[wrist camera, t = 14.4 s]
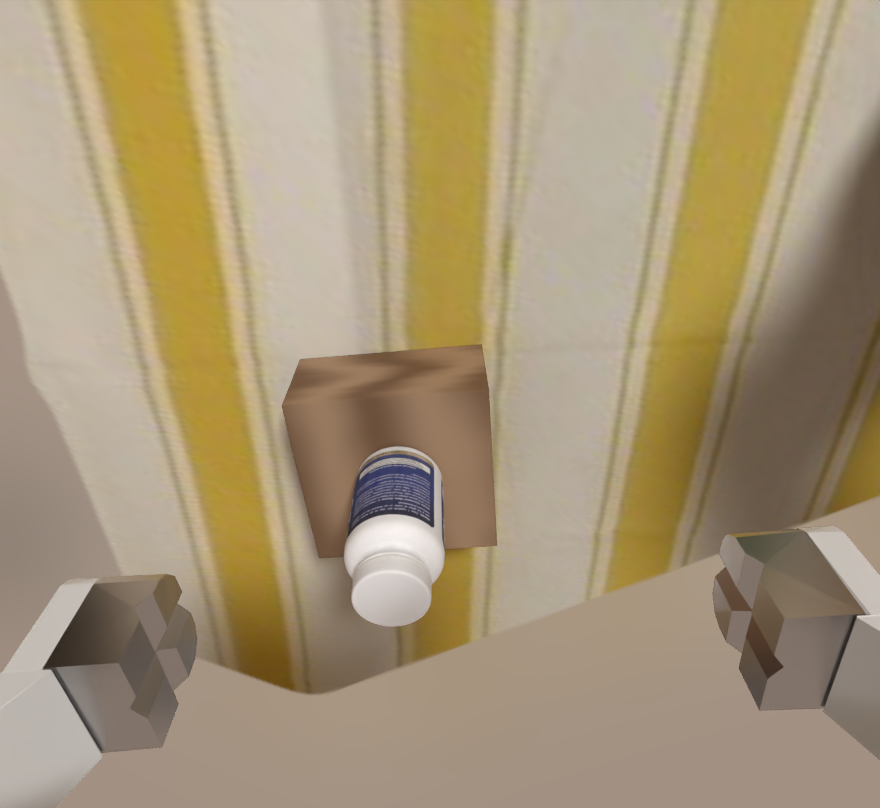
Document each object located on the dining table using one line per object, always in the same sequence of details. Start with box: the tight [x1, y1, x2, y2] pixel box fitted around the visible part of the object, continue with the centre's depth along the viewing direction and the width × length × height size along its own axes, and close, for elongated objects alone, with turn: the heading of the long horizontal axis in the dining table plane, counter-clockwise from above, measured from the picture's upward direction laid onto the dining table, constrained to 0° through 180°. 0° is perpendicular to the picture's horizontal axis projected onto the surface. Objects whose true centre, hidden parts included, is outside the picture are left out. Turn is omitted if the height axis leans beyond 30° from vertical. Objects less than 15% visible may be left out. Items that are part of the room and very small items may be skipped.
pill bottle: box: [344, 446, 445, 627], centre depth 36 cm, size 5×5×10 cm
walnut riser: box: [282, 345, 497, 558], centre depth 43 cm, size 12×12×6 cm
